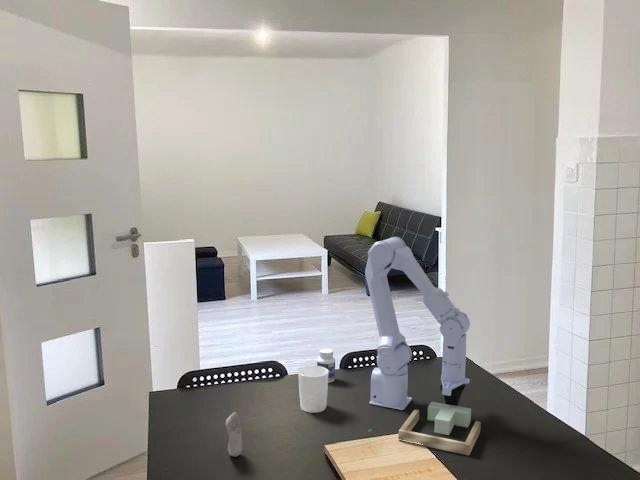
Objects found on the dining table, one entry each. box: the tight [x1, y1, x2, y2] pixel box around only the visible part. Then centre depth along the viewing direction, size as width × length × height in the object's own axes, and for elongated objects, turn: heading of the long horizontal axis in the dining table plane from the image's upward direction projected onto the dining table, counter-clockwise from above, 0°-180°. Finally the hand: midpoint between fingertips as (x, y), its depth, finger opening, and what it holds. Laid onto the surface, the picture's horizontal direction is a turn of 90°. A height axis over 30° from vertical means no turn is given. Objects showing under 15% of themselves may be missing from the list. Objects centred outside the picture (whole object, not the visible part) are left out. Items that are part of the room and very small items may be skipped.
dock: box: [397, 409, 482, 456], centre depth 145 cm, size 16×13×2 cm
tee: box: [427, 401, 472, 436], centre depth 151 cm, size 10×10×4 cm
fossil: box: [225, 411, 243, 458], centre depth 136 cm, size 6×4×10 cm, turn 5°
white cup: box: [297, 365, 329, 414], centre depth 160 cm, size 8×8×10 cm
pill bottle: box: [316, 348, 336, 384], centre depth 180 cm, size 5×5×9 cm
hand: (451, 412), depth 156 cm, fingers closed
